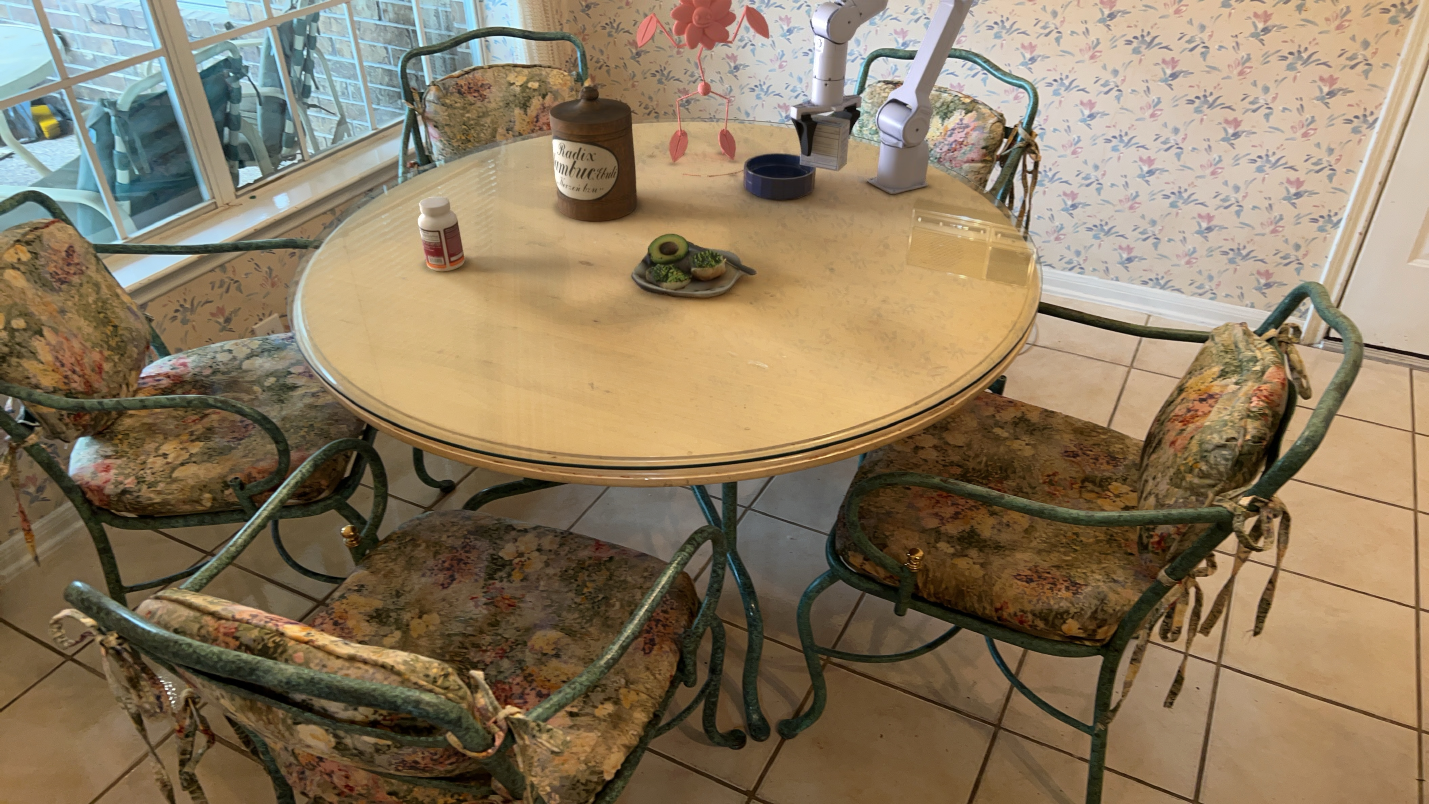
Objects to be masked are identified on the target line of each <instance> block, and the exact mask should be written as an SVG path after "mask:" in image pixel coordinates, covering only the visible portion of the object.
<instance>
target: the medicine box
mask: <svg viewBox="0 0 1429 804" xmlns="http://www.w3.org/2000/svg"><path fill="white" fill-rule="evenodd" d="M811 118H813V119H812V120H814V121H816V122H817V123H818V124H817V126H816V129H815V132H814V137H813V143H812V152H811V156H809V157H807V156H805V155H803V154H801V152H800V155H799V156H800V165H805V166H811V167H816V169H821V170H822V169H823V170H827V171H832V172H840V170H842V169H843V168H845V166H847V163H848V152H849V151H848V150H849V140H850V139H849V138H850V135H849V128H850V120H848V119H842V118H836V117H835V116H831V115H824V114H816V115H811Z"/></svg>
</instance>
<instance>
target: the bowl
mask: <svg viewBox="0 0 1429 804" xmlns="http://www.w3.org/2000/svg"><path fill="white" fill-rule="evenodd" d="M743 170H744V171H743V178H742V179H743V181H742V182H743V183H742V185H743V187H744V189H745V190H746V191H748V192H749V193H750V194H752V195H754V196H757V197H759V198H762V199H766V200H772V201H773V200H774V201H788V200H795V199H799V198H803V197H805V196H806V195H808V194H811V193H812V192H813V191H814V190H815V186H816V173H817V168H816V167H811V166H805V165H800V155H798V154H792V153H779V152H774V153H764V154H758V155H754V156H752V157H749V158H748V159H747V160H746V161H744V163H743Z"/></svg>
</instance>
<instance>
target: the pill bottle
mask: <svg viewBox="0 0 1429 804" xmlns="http://www.w3.org/2000/svg"><path fill="white" fill-rule="evenodd" d="M418 205H419V211H420V213H421V214H420V215H419V217H418V219H417V225H418V229H419V233H420V238H421V239H420V240H421V242H422V243H421V244H422V247H423V253H424V257H425V262H426V266H427V267H428V268H429V269H431V270H433V271H436V272H449V271H453V270H456V269H458V268H460V267H461V266H463V265H464V263H465V254H464V247H463V242H462V236H461V231H460V230H461V229H460V226H459V220H458V216H457V213H456V212H454V211H452V210H451V202H450V200H449V198H448V197H445V196H441V195H440V196H439V195H437V196H429V197H425V198H423V199H421V200H420V201H419V203H418Z"/></svg>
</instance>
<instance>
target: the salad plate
mask: <svg viewBox="0 0 1429 804" xmlns="http://www.w3.org/2000/svg"><path fill="white" fill-rule="evenodd" d="M757 273H758V272H757V270H755V269H754V268H751V267H749V266H746V265H745V264H743V261H742V259H741V258H740V257H739V256H738V255H737V254H735V253H734V252H732V251H730V250H725V249H717V248H708V247H703V246H700V245H698V244H695V243H694V242H692V241H689V240H687V239H686V238H685V237H683V235H680V234H676V233H665V234H661V235H659V236H658V237H656V238H654V239H653V240H652V241H651V242H650V244H649V245H648V246H647V252H646V253H645V255H644V257H643V258H642V259H641V260H640V262H639V263H638V264H637V266H635V267H634V269H633V271H632V272H631V275H630V276H631V279H632V281H633V282H634V283H635V284H636V285H637V286H638V287H639V288H640V289H641V290H643V291H645V292H649V293H651V294H655V295H661V296H662V295H664V296H669V297H673V298H674V297H675V298H696V299H697V298H698V299H709V298H714V297H717V296H721V295H724V294H726V293H728V292H729V291H730V290H731V289H732V287H733V286H734V285H735V284H736V281H738V280H739V279H740V278H741V277H742V276H755V275H757Z"/></svg>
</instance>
